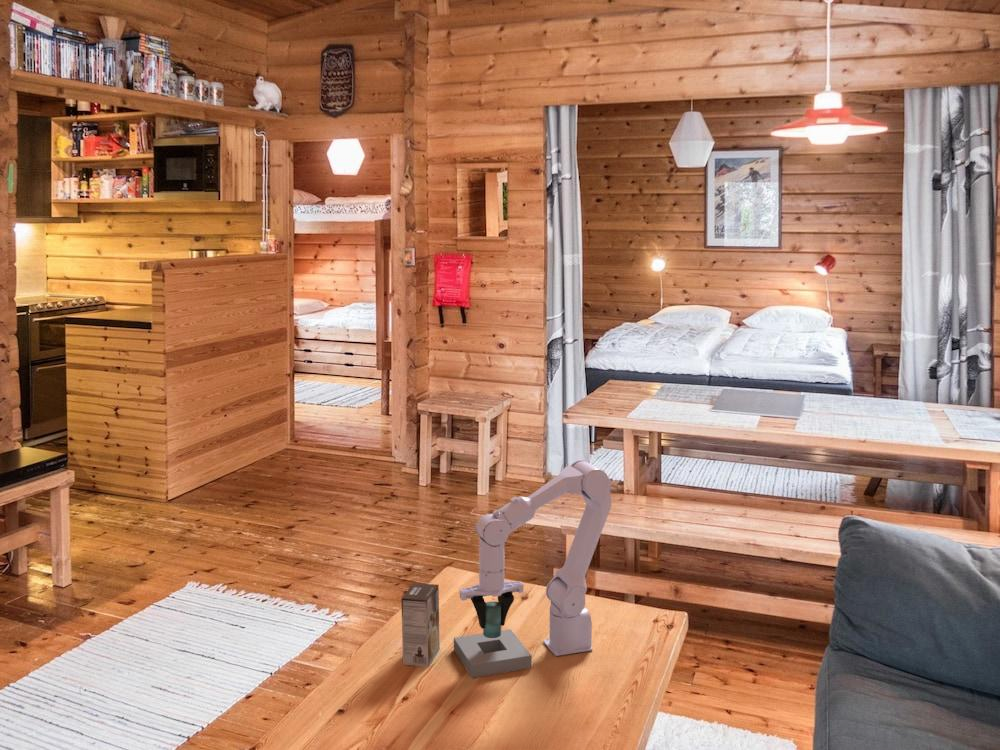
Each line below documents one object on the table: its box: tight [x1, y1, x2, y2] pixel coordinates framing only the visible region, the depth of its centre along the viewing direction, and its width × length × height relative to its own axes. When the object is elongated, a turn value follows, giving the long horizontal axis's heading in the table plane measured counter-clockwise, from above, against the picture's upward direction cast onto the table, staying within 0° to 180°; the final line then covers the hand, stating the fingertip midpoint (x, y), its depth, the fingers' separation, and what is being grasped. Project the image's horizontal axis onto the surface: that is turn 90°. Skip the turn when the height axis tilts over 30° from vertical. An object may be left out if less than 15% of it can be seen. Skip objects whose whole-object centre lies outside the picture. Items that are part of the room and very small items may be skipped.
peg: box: [482, 600, 502, 638], centre depth 206 cm, size 4×4×7 cm
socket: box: [453, 628, 533, 679], centre depth 208 cm, size 14×14×3 cm
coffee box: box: [400, 582, 441, 668], centre depth 208 cm, size 9×6×16 cm
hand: (491, 625), depth 207 cm, fingers closed on peg, 4 cm apart
